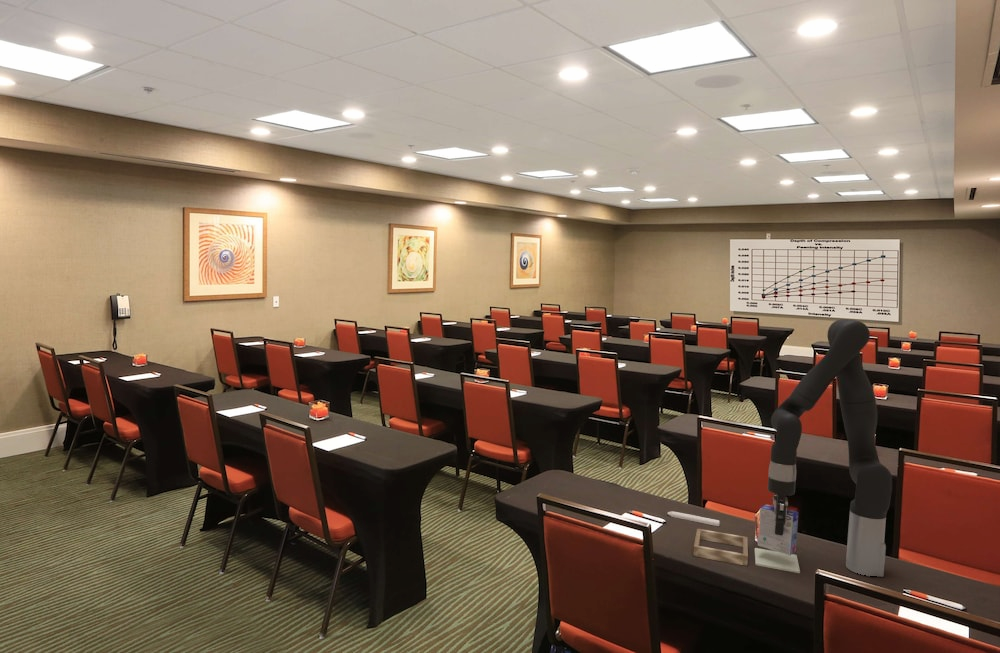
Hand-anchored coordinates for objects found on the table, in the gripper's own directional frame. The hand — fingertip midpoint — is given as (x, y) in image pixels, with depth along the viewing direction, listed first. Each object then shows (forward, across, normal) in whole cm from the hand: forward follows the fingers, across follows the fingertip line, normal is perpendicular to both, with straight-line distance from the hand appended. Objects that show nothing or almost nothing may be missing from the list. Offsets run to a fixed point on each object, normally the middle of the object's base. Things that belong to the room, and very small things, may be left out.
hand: (778, 530), depth 185 cm
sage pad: (+10, 0, 0) cm, 10 cm away
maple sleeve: (+10, 0, +16) cm, 19 cm away
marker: (+10, +23, +26) cm, 36 cm away
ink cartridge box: (+6, 0, 0) cm, 6 cm away
